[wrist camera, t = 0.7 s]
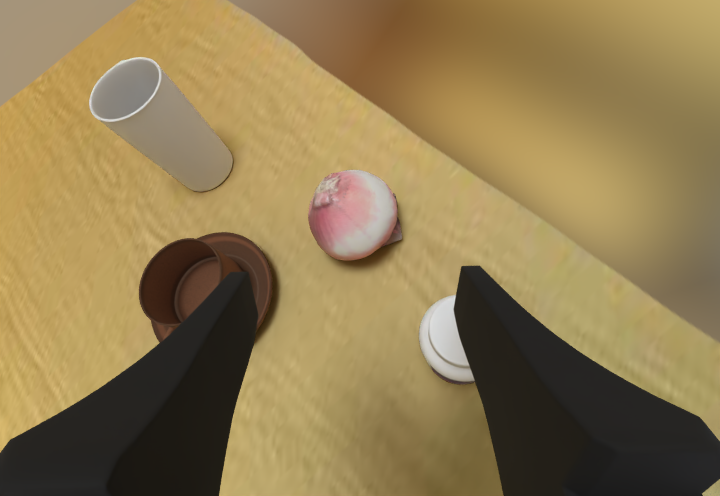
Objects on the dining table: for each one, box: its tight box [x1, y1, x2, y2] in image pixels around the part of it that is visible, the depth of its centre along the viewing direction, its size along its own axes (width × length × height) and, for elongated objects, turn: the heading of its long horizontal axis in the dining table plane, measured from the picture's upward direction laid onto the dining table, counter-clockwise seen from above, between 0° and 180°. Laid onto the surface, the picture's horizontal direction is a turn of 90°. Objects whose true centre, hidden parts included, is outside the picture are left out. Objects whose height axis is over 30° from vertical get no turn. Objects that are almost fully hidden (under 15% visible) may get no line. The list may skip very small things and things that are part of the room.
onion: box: [308, 170, 402, 260], centre depth 32 cm, size 8×8×7 cm
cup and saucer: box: [139, 232, 272, 343], centre depth 33 cm, size 12×12×6 cm
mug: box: [89, 57, 233, 192], centre depth 37 cm, size 10×7×12 cm, turn 30°
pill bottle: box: [419, 295, 475, 384], centre depth 25 cm, size 5×5×10 cm
